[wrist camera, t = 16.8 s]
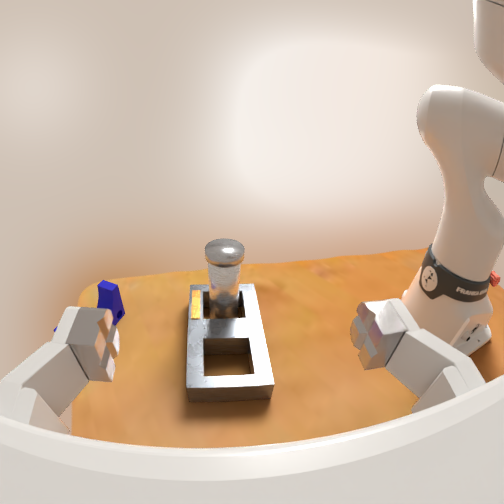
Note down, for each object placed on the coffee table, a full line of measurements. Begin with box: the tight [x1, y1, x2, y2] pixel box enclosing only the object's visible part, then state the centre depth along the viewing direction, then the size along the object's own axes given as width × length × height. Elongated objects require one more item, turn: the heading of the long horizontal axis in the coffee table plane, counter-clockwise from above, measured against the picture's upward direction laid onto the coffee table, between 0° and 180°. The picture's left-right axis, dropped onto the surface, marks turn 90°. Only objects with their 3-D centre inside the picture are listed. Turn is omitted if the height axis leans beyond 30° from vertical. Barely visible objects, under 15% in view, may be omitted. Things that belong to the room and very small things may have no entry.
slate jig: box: [186, 284, 274, 402], centre depth 40 cm, size 10×19×4 cm, turn 7°
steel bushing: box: [205, 239, 244, 319], centre depth 42 cm, size 5×5×13 cm
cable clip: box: [54, 280, 125, 332], centre depth 38 cm, size 12×4×6 cm, turn 164°
